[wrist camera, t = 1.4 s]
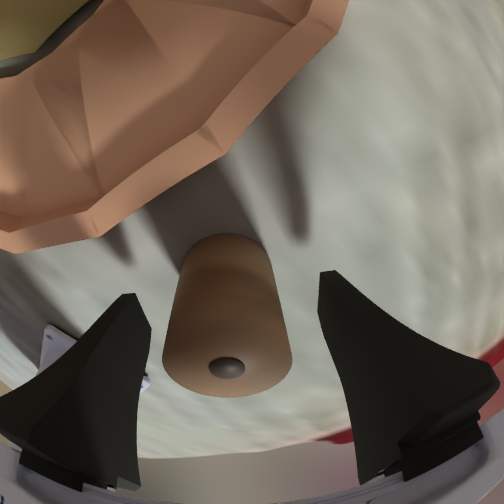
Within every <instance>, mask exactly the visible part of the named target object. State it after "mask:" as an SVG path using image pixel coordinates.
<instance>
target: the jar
mask: <svg viewBox="0 0 504 504" xmlns="http://www.w3.org/2000/svg"><path fill="white" fill-rule="evenodd" d="M88 1H89V0H0V61H1V60H5V59H8V58H12V57H16V56H21V55H26V54H30V53H35V52H36V51H37V50H38V48H39V47H40V46H41V45H42V44H43V43H44V42H45V41H46V40H47V39H48V38H49V36H50V35H51V34H52V33H53V32H54V31H55V30H56V29H57V28H58V27H59V26H60V25H62V24H63V23H64V22H65V21H66V20H67V19H68V18H69V17H70V16H71V15H72V14H73V13H75V12H76V11H77V10H78V9H79V8H80V7H82V6H83V5H84V4H85V3H86V2H88Z"/></svg>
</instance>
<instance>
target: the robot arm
mask: <svg viewBox="0 0 504 504" xmlns="http://www.w3.org/2000/svg"><path fill="white" fill-rule="evenodd" d="M317 312H318V316H319V320H320V324H321V328H322V332H323V335H324V338H325V340H326V343H327V346H328V348H329V351H330V353H331V356H332V359H333V361H334V364H335V366H336V369H337V372H338V374H339V377H340V380H341V383H342V386H343V390H344V394H345V398H346V402H347V407H348V411H349V416H350V421H351V426H352V432H353V438H354V444H355V451H356V460H357V469H358V479H359V483H360V486H358V487H355V488H351V489H348V490H344V491H340V492H336V493H332V494H328V495H323V496H319V497H314V498H309V499H303V500H296V501H290V502H283V503H273V504H360V503H363V502H366V503H365V504H477V503H478V502H479V501H480V500H481V499H482V498H483V497H484V496H485V495H487V493H489V492H490V491H491V490H492V489H493V488H494V487H495V486H496V485H497V484H498V483H499V482H500V481H502V480H503V479H504V409H503V410H501V411H500V412H499V413H497V414H496V415H495V416H493V417H492V418H491V419H489V420H488V421H487V422H485V423H484V424H483V425H482V426H480V427H479V425H478V423H477V421H478V420H480V414H479V412H478V410H479V409H480V408H481V407H482V406H483V405H484V404H485V403H486V402H487V401H488V400H489V399H490V398H491V397H492V396H493V395H494V394H495V392H496V391H497V390H498V389H499V386H500V381H499V379H498V377H497V376H496V374H495V372H494V371H493V369H492V367H491V366H490V364H489V363H487V362H484V361H481V360H478V359H475V358H471V357H468V356H465V355H462V354H460V353H458V352H455V351H453V350H450V349H448V348H446V347H443V346H441V345H439V344H437V343H435V342H433V341H431V340H429V339H427V338H425V337H424V336H422V335H420V334H418V333H416V332H415V331H413V330H411V329H410V328H408V327H407V326H405V325H404V324H402V323H400V322H399V321H397V320H396V319H394V318H393V317H392V316H390V315H389V314H388V313H386V312H385V311H384V310H382V309H381V308H380V307H378V306H377V305H376V304H374V303H373V302H372V301H371V300H369V299H368V298H367V297H366V296H365V295H363V294H362V293H361V292H360V291H359V290H358V289H356V288H355V287H354V286H353V285H352V284H351V283H350V282H348V281H347V280H346V279H345V278H344V277H343V276H342V275H340V274H339V273H338V272H337V271H336V270H333V271H326V272H320V281H319V297H318V310H317ZM151 330H152V329H151V326H150V324H149V322H148V320H147V318H146V316H145V314H144V312H143V310H142V307H141V305H140V303H139V301H138V298H137V296H136V294H135V293H129V294H122V295H121V296H120V297H119V298H117V299H116V300H115V301H114V302H113V303H112V305H111V306H110V307H109V308H108V309H107V310H106V311H105V312H104V313H103V314H102V315H101V316H100V317H99V318H98V320H97V321H96V322H95V323H94V324H93V325H92V326H91V327H90V328H89V329H88V330H87V331H86V332H85V333H84V334H83V335H82V336H81V337H80V338H79V339H78V341H76V340H75V339H73V338H71V337H70V336H68V335H66V334H65V333H63V332H62V331H60V330H58V329H57V328H55V327H54V326H52V325H47V326H46V328H45V329H44V335H43V342H42V350H41V358H40V368H39V370H38V372H37V374H36V377H34V378H33V379H31V380H30V381H28V382H27V383H25V384H23V385H22V386H20V387H18V388H17V389H15V390H13V391H11V392H9V393H7V394H5V395H3V396H1V397H0V434H2V435H3V436H4V437H6V438H7V439H8V440H10V441H11V442H12V445H11V448H10V447H9V446H7V445H5V444H4V443H0V504H179V503H171V502H163V501H156V500H150V499H145V498H139V497H134V496H130V495H125V494H121V493H117V492H115V489H116V487H120V488H124V489H128V490H133V491H135V490H137V489H139V488H140V487H141V483H140V477H139V469H138V461H137V410H138V401H139V395H140V394H141V393H142V392H143V391H144V390H145V389H146V388H147V387H148V386H149V385H150V379H149V378H148V377H146V376H144V372H145V368H146V363H147V359H148V354H149V349H150V340H151ZM376 480H377V481H376ZM373 481H374V482H373ZM370 482H371V483H370ZM367 483H368V484H367ZM364 484H365V485H364Z"/></svg>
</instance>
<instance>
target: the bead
mask: <svg viewBox="0 0 504 504" xmlns="http://www.w3.org/2000/svg"><path fill="white" fill-rule="evenodd" d="M162 363H163V366H164V369H165V371H166V372H167V374H168V375H169V376H170V377H171V378H172V379H173V380H174V381H175V382H177V383H178V384H179V385H181V386H183V387H185V388H186V389H188V390H191V391H193V392H196V393H199V394H203V395H207V396H213V397H227V398H230V397H243V396H248V395H253V394H256V393H260V392H262V391H265V390H267V389H269V388H271V387H273V386H275V385H276V384H278V383H279V382H280V381H281V380H282V379H284V378H285V376H286V375H287V374H288V372H289V371H290V368H291V366H292V354H291V349H290V344H289V340H288V335H287V331H286V326H285V322H284V318H283V313H282V309H281V304H280V300H279V296H278V291H277V287H276V283H275V278H274V274H273V270H272V265H271V262H270V259H269V257H268V255H267V253H266V252H265V250H264V249H263V248H262V247H261V246H260V245H259V244H257V243H256V242H254V241H253V240H251V239H249V238H247V237H244V236H241V235H237V234H217V235H212V236H209V237H206V238H204V239H202V240H200V241H199V242H197V243H196V244H195V245H194V246H192V248H191V249H190V250H189V251H188V253H187V254H186V256H185V258H184V261H183V265H182V269H181V273H180V277H179V281H178V285H177V289H176V293H175V298H174V302H173V307H172V311H171V316H170V320H169V325H168V330H167V334H166V339H165V344H164V349H163V355H162Z"/></svg>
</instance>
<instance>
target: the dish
mask: <svg viewBox="0 0 504 504" xmlns="http://www.w3.org/2000/svg"><path fill="white" fill-rule="evenodd" d="M348 2H349V0H104V1H103V3H102V4H101V5H100V6H99V7H98V9H97V10H96V11H95V12H94V14H93V15H92V16H91V17H90V18H89V19H88V20H87V21H85V22H84V23H83V24H82V25H81V26H79V27H78V28H77V29H76V30H75V31H74V32H73V33H72V34H71V35H69V36H68V37H67V38H66V39H65V40H64V41H63V42H62V43H61V44H60V45H59V46H58V47H57V48H56V49H55V50H54V51H53V52H52V53H51V54H50V55H48V56H46V57H44V58H43V59H41V60H40V61H38V62H36V63H35V64H33V65H32V66H30V67H29V68H27V69H26V70H24V71H23V72H21V73H20V74H18V75H17V76H12V77H6V78H1V79H0V249H3V250H6V251H8V252H11V253H14V254H18V253H22V252H27V251H31V250H36V249H40V248H45V247H50V246H55V245H59V244H64V243H69V242H74V241H80V240H85V239H90V238H95V237H100V236H102V235H103V234H104V233H106V232H107V231H108V230H110V229H111V228H112V227H114V226H115V225H116V224H118V223H119V222H120V221H122V220H123V219H125V218H126V217H127V216H129V215H130V214H131V213H133V212H134V211H136V210H137V209H139V208H140V207H141V206H143V205H144V204H146V203H147V202H149V201H150V200H152V199H153V198H155V197H156V196H158V195H159V194H161V193H162V192H164V191H165V190H167V189H168V188H170V187H171V186H173V185H175V184H176V183H178V182H179V181H181V180H183V179H184V178H186V177H187V176H189V175H191V174H192V173H194V172H196V171H197V170H199V169H201V168H202V167H204V166H206V165H207V164H209V163H211V162H213V161H214V160H216V159H218V158H220V157H221V156H223V155H225V154H226V153H227V152H228V150H229V149H230V148H231V147H232V145H233V144H234V143H235V142H236V141H237V139H238V138H239V137H240V136H241V135H242V133H243V132H244V131H245V130H246V129H247V127H248V126H249V125H250V124H251V123H252V122H253V120H254V119H255V118H256V117H257V116H258V115H259V114H260V112H261V111H262V110H263V109H264V108H265V107H266V106H267V105H268V103H269V102H270V101H271V100H272V99H273V98H274V97H275V96H276V95H277V94H278V93H279V91H280V90H281V89H282V88H283V87H284V86H285V85H286V84H287V83H288V82H289V81H290V80H291V79H292V78H293V77H294V76H295V75H296V74H297V73H298V72H299V71H300V70H301V69H302V68H303V67H304V66H305V65H306V64H307V63H308V62H309V61H310V60H311V59H312V58H313V57H314V56H315V55H316V54H317V53H318V52H319V51H320V50H321V49H322V48H323V47H324V46H325V45H326V44H327V43H328V42H329V41H330V40H332V39H333V38H334V37H335V36H336V35H337V34H338V32H339V29H340V26H341V23H342V20H343V17H344V14H345V11H346V8H347V5H348Z"/></svg>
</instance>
